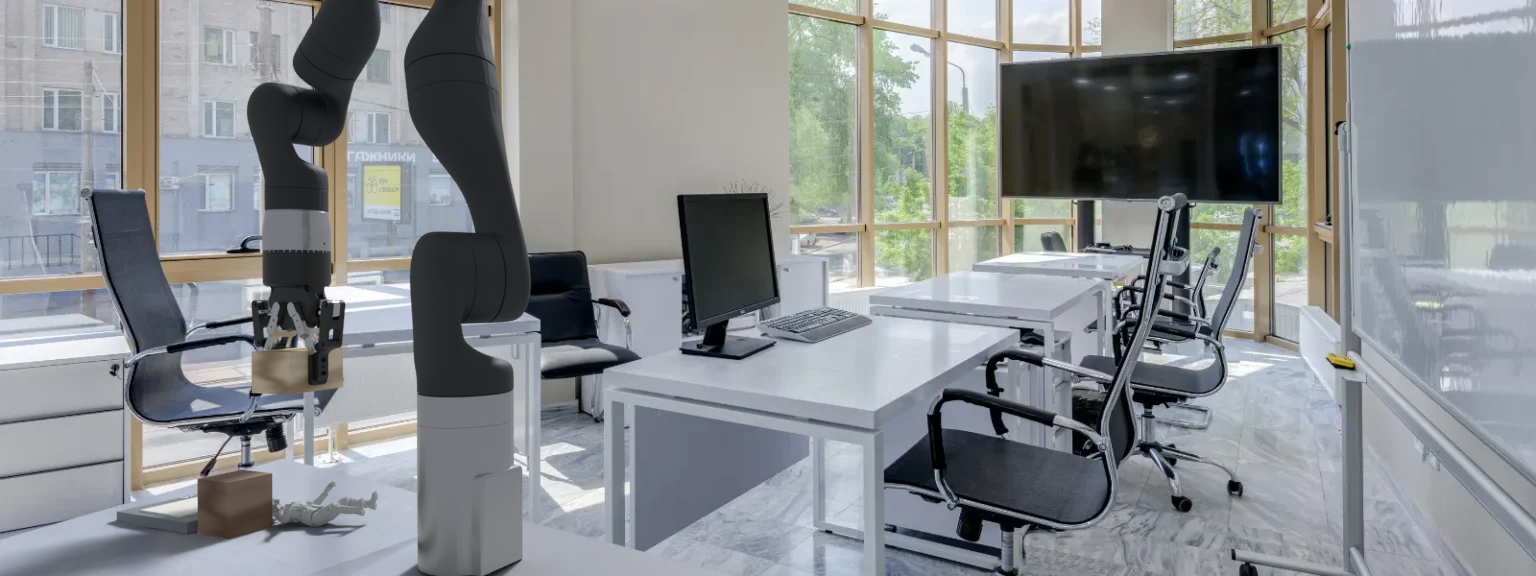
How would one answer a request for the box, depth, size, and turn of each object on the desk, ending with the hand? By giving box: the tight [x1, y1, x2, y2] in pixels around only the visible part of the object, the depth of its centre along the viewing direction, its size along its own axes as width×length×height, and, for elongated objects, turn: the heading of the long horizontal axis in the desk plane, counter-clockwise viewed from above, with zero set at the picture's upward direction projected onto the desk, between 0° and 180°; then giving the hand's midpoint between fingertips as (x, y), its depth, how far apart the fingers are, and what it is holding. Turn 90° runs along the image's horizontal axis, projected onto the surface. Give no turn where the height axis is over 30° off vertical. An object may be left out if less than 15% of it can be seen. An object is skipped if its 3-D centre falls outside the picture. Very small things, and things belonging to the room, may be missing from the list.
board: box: [116, 493, 280, 535], centre depth 102 cm, size 12×11×1 cm
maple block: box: [251, 346, 344, 396], centre depth 108 cm, size 6×8×5 cm
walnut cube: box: [197, 469, 274, 540], centre depth 96 cm, size 5×5×6 cm
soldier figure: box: [272, 481, 379, 528], centre depth 98 cm, size 8×5×12 cm
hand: (298, 383), depth 108 cm, fingers closed on maple block, 6 cm apart
